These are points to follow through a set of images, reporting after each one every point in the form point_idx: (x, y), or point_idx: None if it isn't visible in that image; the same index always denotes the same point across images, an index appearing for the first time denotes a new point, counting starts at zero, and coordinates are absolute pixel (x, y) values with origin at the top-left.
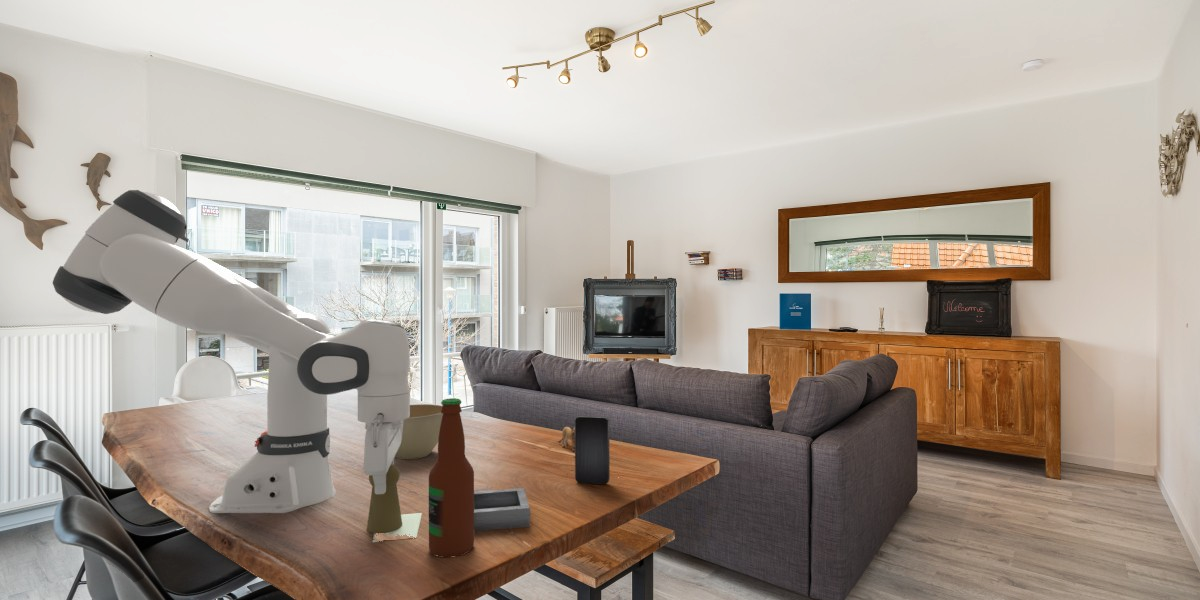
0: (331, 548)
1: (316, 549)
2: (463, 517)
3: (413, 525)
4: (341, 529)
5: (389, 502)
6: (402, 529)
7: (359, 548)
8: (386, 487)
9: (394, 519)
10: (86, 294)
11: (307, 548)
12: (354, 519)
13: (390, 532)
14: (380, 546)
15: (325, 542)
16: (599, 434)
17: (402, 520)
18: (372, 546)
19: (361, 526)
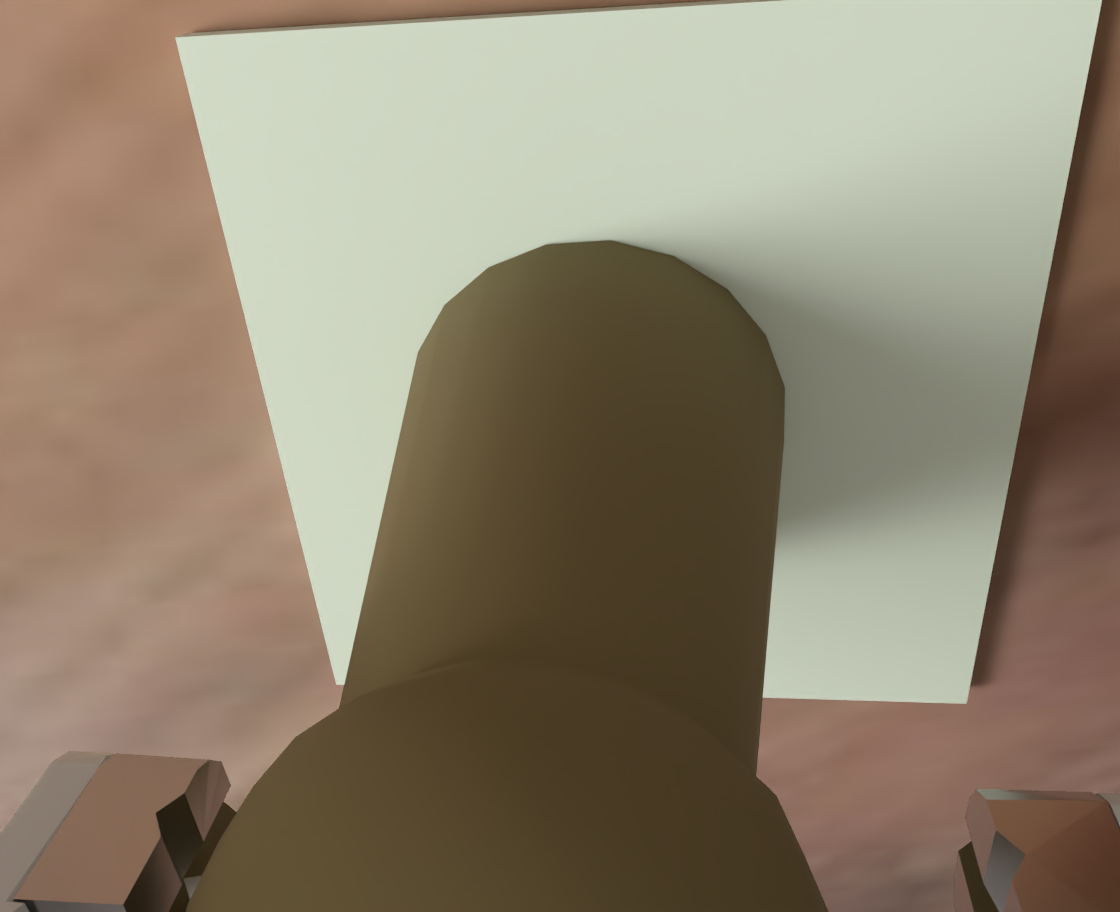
0: (944, 745)
1: (921, 826)
2: None
3: (620, 92)
4: None
5: (749, 555)
6: (727, 216)
7: (1045, 557)
8: (1029, 836)
9: (722, 361)
10: None
11: (876, 872)
12: (314, 679)
13: (786, 339)
14: (1083, 383)
15: (794, 794)
16: None
17: (428, 257)
18: (1046, 456)
19: None
